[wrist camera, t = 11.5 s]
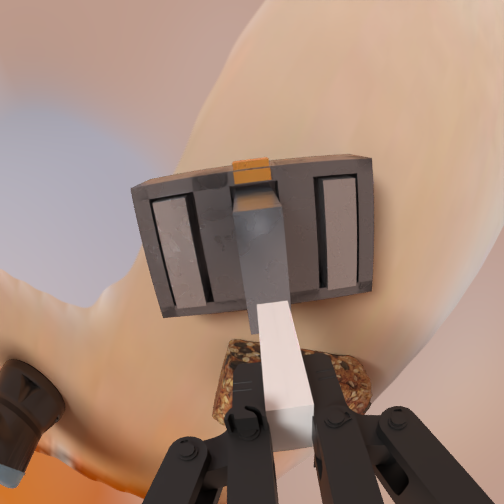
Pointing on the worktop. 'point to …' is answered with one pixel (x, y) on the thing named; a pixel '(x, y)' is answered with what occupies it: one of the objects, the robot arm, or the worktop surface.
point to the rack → (224, 236)
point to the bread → (345, 367)
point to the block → (261, 248)
